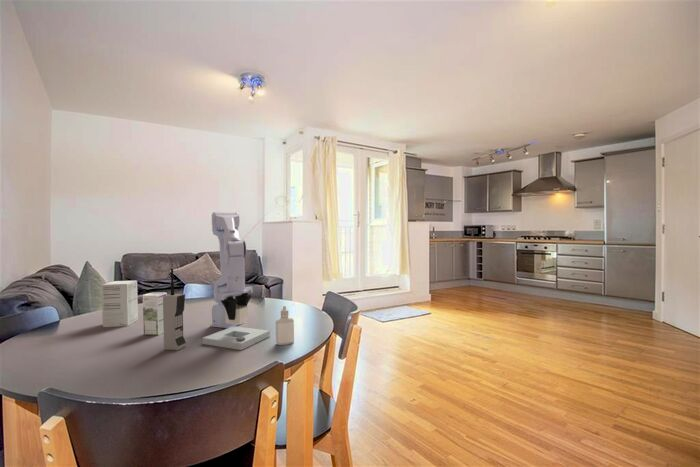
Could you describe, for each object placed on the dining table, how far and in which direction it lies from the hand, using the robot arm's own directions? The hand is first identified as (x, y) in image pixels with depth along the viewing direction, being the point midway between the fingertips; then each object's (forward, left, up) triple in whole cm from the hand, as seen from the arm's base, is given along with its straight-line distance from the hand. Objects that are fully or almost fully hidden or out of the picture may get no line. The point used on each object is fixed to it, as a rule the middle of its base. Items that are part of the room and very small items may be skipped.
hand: (236, 317), depth 111 cm
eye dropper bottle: (+17, +3, -8) cm, 19 cm away
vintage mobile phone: (-13, -13, -8) cm, 20 cm away
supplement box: (-60, 0, -8) cm, 60 cm away
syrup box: (-34, -4, -8) cm, 35 cm away
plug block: (0, 0, -2) cm, 2 cm away
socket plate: (0, 0, -7) cm, 7 cm away
